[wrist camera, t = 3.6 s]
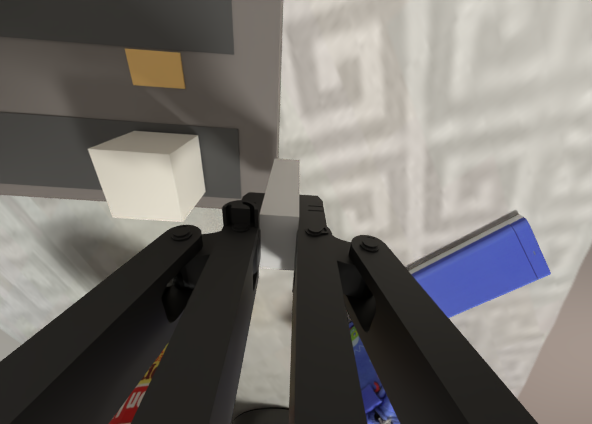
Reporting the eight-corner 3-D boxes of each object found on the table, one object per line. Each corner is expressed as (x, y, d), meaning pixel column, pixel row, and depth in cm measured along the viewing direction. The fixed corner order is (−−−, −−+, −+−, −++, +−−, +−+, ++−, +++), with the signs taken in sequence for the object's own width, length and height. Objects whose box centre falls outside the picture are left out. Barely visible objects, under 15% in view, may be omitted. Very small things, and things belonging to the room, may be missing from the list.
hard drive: (429, 328, 27) (553, 276, 23) (392, 288, 24) (528, 219, 20) (422, 316, 29) (538, 264, 25) (387, 276, 26) (513, 210, 22)
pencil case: (317, 336, 30) (323, 436, 22) (367, 298, 27) (397, 401, 19) (431, 391, 37) (469, 485, 29) (484, 366, 33) (545, 465, 25)
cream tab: (205, 191, 18) (182, 222, 14) (149, 188, 18) (112, 217, 14) (198, 135, 16) (169, 154, 12) (134, 130, 16) (87, 148, 12)
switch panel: (277, 200, 21) (274, 212, 19) (-44, 179, 20) (-79, 190, 18) (285, -80, 13) (283, -105, 11) (-253, -129, 12) (-353, -164, 10)
